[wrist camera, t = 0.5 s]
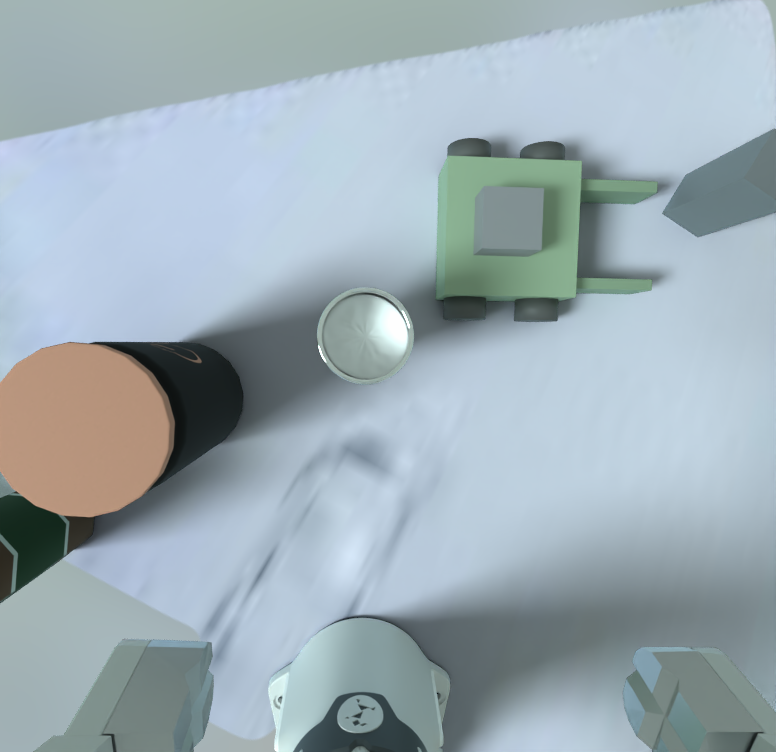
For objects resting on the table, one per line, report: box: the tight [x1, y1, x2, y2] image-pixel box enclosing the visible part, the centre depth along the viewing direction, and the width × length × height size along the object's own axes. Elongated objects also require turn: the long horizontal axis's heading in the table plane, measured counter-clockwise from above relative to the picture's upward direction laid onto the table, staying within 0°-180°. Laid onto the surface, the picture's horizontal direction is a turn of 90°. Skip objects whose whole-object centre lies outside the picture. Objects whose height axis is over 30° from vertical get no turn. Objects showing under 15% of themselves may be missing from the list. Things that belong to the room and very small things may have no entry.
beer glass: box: [317, 287, 414, 385], centre depth 38 cm, size 7×7×15 cm
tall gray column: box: [662, 129, 776, 237], centre depth 41 cm, size 4×4×10 cm
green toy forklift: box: [436, 138, 658, 322], centre depth 42 cm, size 16×20×8 cm
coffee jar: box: [0, 342, 243, 517], centre depth 36 cm, size 11×11×18 cm
